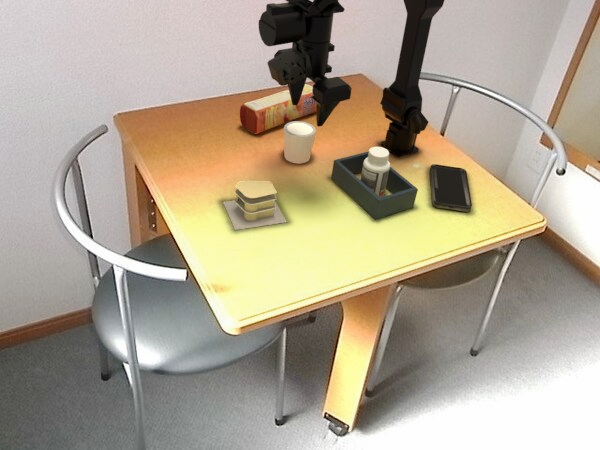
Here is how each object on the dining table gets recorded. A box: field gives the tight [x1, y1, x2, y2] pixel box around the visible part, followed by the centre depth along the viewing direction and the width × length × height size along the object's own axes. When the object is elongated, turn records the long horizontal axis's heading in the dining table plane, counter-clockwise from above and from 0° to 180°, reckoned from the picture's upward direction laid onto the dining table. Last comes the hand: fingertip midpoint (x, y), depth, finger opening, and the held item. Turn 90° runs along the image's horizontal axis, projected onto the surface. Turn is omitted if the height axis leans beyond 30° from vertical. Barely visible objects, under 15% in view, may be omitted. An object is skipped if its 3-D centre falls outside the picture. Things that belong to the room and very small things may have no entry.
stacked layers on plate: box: [222, 179, 287, 231], centre depth 116 cm, size 10×9×6 cm
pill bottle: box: [360, 146, 391, 198], centre depth 123 cm, size 5×5×10 cm
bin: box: [330, 150, 419, 220], centre depth 125 cm, size 10×16×4 cm, turn 32°
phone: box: [429, 163, 473, 213], centre depth 129 cm, size 8×1×15 cm
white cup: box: [283, 120, 317, 165], centre depth 133 cm, size 7×7×7 cm
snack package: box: [239, 83, 317, 135], centre depth 145 cm, size 21×7×7 cm, turn 134°
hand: (307, 115), depth 120 cm, fingers open, 9 cm apart
